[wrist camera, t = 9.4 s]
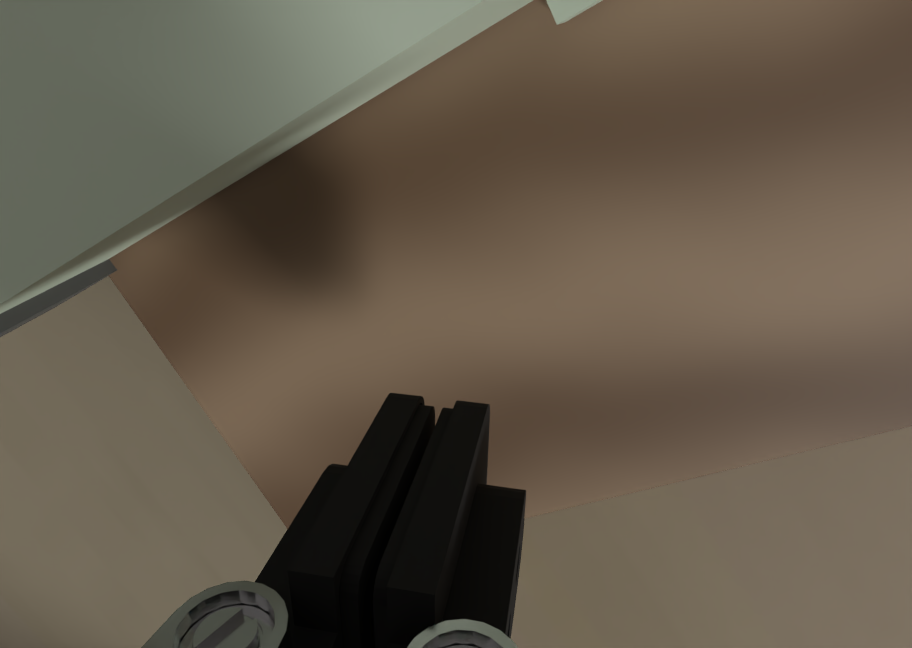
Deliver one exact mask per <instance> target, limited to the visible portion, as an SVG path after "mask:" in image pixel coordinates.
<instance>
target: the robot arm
mask: <svg viewBox="0 0 912 648" xmlns="http://www.w3.org/2000/svg"><path fill="white" fill-rule="evenodd" d="M489 426H490V405H489V404H485V403H476V402H467V401H459V400H457V401H456V402H455V405H454V407H453V409H452V408H442V410H441V413H440V415H439V418H438V420H437V423H436V425H435V408H434V406H427V405H425V402H424V398H423V396H416V395H407V394H398V393H389V395H388V396H387V397H386V399H385V401H384V403H383V404H382V406H381V408H380V410H379V411H378V413H377V415H376V417H375V418H374V420H373V422H372V424H371V425H370V427H369V429H368V431H367V432H366V434H365V436H364V438H363V439H362V441H361V443H360V444H359V446H358V448H357V450H356V451H355V453H354V455H353V457H352V458H351V460H350V462H349V464H348V465H340V464H331V465H328V467H327V468H326V469H325V470H324V472H323V473H322V475H321V476H320V478H319V480H318V481H317V483H316V484H315V486H314V488H313V489H312V491H311V493H310V494H309V496H308V497H307V499H306V501H305V502H304V504H303V505H302V507H301V509H300V510H299V512H298V513H297V515H296V517H295V518H294V520H293V521H292V523H291V525H290V526H289V528H288V530H287V531H286V533H285V534H284V536H283V538H282V539H281V541H280V542H279V544H278V546H277V547H276V549H275V550H274V552H273V554H272V555H271V557H270V558H269V560H268V562H267V563H266V565H265V567H264V568H263V570H262V571H261V573H260V575H259V576H258V578H257V579H256V581H255V582H250V581H237V582H227V583H223V584H220V585H217V586H214V587H211V588H208V589H206V590H204V591H202V592H200V593H199V594H197V595H195V596H193V597H191V598H190V599H189V600H188V601H186V602H185V603H184V604H183V605H182V606H181V607H179V608H178V609H177V610H176V611H175V612H174V613H173V614H172V615H171V616H170V617H169V618H168V619H167V621H166V622H165V623H164V624H163V625H162V626H161V627H160V628H159V629H158V630H157V631H156V632H155V633H154V635H153V636H152V637H151V638H150V639H149V640H148V641H147V642H146V643H145V644H144V645H143V646H142V647H141V648H518V647H517V646H516V644H515V643H514V642H513V641H512V640H511V639H510V638H511V631H512V623H513V616H514V608H515V600H516V593H517V585H518V577H519V569H520V560H521V550H522V540H523V529H524V517H525V504H526V490H522V489H514V488H507V487H500V486H493V485H487V468H488V447H489Z"/></svg>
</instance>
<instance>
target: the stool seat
mask: <svg viewBox="0 0 912 648" xmlns="http://www.w3.org/2000/svg"><path fill="white" fill-rule="evenodd" d="M109 260H110V261H111V262H112V264H113V265H114V266H115V268H116V269H117V271H115V272H114V273H112V274H110V275H109V277H110V278H111V280H112V281H113V283H114V284H115V285H116V287H117V288H118V290H119V291H120V292H121V294H122V295H123V297H124V298H125V300H126V301H127V302H128V304H129V305H130V307H131V308H132V309H133V311H134V312H135V314H136V315H137V316H138V318H139V319H140V321H141V322H142V324H143V325H144V326H145V328H146V329H147V331H148V332H149V333H150V335H151V336H152V338H153V339H154V341H155V342H156V343H157V345H158V346H159V348H160V349H161V350H162V352H163V353H164V355H165V356H166V358H167V359H168V360H169V362H170V363H171V365H172V366H173V367H174V369H175V370H176V372H177V373H178V375H179V376H180V377H181V379H182V380H183V382H184V383H185V384H186V386H187V387H188V389H189V390H190V391H191V393H192V394H193V396H194V397H195V399H196V400H197V401H198V403H199V404H200V406H201V407H202V408H203V410H204V411H205V413H206V414H207V416H208V417H209V418H210V420H211V421H212V423H213V424H214V425H215V427H216V428H217V430H218V431H219V433H220V434H221V435H222V437H223V438H224V440H225V441H226V442H227V444H228V445H229V447H230V448H231V450H232V451H233V452H234V454H235V455H236V457H237V458H238V459H239V461H240V462H241V464H242V465H243V466H244V468H245V469H246V471H247V472H248V474H249V475H250V476H251V478H252V479H253V481H254V482H255V483H256V485H257V486H258V488H259V489H260V491H261V492H262V493H263V495H264V496H265V498H266V499H267V500H268V502H269V503H270V505H271V506H272V508H273V509H274V510H275V512H276V513H277V515H278V516H279V517H280V519H281V520H282V522H283V523H284V525H285V526H286V527H287V529H288V528H289V526H290V525H291V523H292V521H293V520H294V518H295V517H296V515H297V513H298V512H299V510H300V509H301V507H302V505H303V504H304V502H305V501H306V499H307V497H308V496H309V494H310V493H311V491H312V489H313V488H314V486H315V484H316V483H317V481H318V480H319V478H320V476H321V475H322V473H323V472H324V470H325V469H326V468H327V467H328V465H331V464H340V465H348V464H349V462H350V460H351V458H352V457H353V455H354V453H355V451H356V450H357V448H358V446H359V444H360V443H361V441H362V439H363V438H364V436H365V434H366V432H367V431H368V429H369V427H370V425H371V424H372V422H373V420H374V418H375V417H376V415H377V413H378V411H379V410H380V408H381V406H382V404H383V403H384V401H385V399H386V397H387V396H388V395H389V393H398V394H407V395H416V396H423V398H424V402H425V405H427V406H434V408H435V425H436V423H437V420H438V418H439V415H440V413H441V410H442V408H452V409H453V407H454V405H455V402H456V401H457V400H459V401H467V402H476V403H485V404H489V405H490V426H489V447H488V468H487V485H493V486H500V487H507V488H514V489H522V490H526V504H525V517H524V519H525V518H529V517H533V516H537V515H542V514H546V513H550V512H554V511H558V510H562V509H567V508H571V507H575V506H579V505H583V504H588V503H592V502H596V501H600V500H604V499H608V498H613V497H617V496H621V495H625V494H629V493H634V492H638V491H642V490H646V489H650V488H654V487H659V486H663V485H667V484H671V483H675V482H680V481H684V480H688V479H692V478H696V477H700V476H705V475H709V474H713V473H717V472H721V471H726V470H730V469H734V468H738V467H742V466H746V465H751V464H755V463H759V462H763V461H767V460H772V459H776V458H780V457H784V456H788V455H792V454H797V453H801V452H805V451H809V450H813V449H818V448H822V447H826V446H830V445H834V444H838V443H843V442H847V441H851V440H855V439H859V438H864V437H868V436H872V435H876V434H880V433H884V432H889V431H893V430H897V429H901V428H905V427H910V426H912V0H603V1H601V2H599V3H597V4H596V5H594V6H592V7H591V8H589V9H587V10H585V11H584V12H582V13H580V14H579V15H577V16H575V17H573V18H572V19H570V20H568V21H567V22H565V23H561V24H556V22H555V19H554V17H553V15H552V13H551V10H550V8H549V6H548V4H547V1H546V0H533V1H531V2H530V3H528V4H526V5H525V6H523V7H522V8H520V9H518V10H517V11H515V12H513V13H512V14H510V15H508V16H507V17H505V18H503V19H502V20H500V21H499V22H497V23H495V24H494V25H492V26H490V27H489V28H487V29H485V30H484V31H482V32H481V33H479V34H477V35H476V36H474V37H472V38H471V39H469V40H467V41H466V42H464V43H462V44H461V45H459V46H458V47H456V48H454V49H453V50H451V51H449V52H448V53H446V54H444V55H443V56H441V57H439V58H438V59H436V60H435V61H433V62H431V63H430V64H428V65H426V66H425V67H423V68H421V69H420V70H418V71H416V72H415V73H413V74H412V75H410V76H408V77H407V78H405V79H403V80H402V81H400V82H398V83H397V84H395V85H394V86H392V87H390V88H389V89H387V90H385V91H384V92H382V93H380V94H379V95H377V96H375V97H374V98H372V99H371V100H369V101H367V102H366V103H364V104H362V105H361V106H359V107H357V108H356V109H354V110H352V111H351V112H349V113H348V114H346V115H344V116H343V117H341V118H339V119H338V120H336V121H334V122H333V123H331V124H329V125H328V126H326V127H325V128H323V129H321V130H320V131H318V132H316V133H315V134H313V135H311V136H310V137H308V138H307V139H305V140H303V141H302V142H300V143H298V144H297V145H295V146H293V147H292V148H290V149H288V150H287V151H285V152H284V153H282V154H280V155H279V156H277V157H275V158H274V159H272V160H270V161H269V162H267V163H265V164H264V165H262V166H261V167H259V168H257V169H256V170H254V171H252V172H251V173H249V174H247V175H246V176H244V177H242V178H241V179H239V180H238V181H236V182H234V183H233V184H231V185H229V186H228V187H226V188H224V189H223V190H221V191H220V192H218V193H216V194H215V195H213V196H211V197H210V198H208V199H206V200H205V201H203V202H201V203H200V204H198V205H197V206H195V207H193V208H192V209H190V210H188V211H187V212H185V213H183V214H182V215H180V216H178V217H177V218H175V219H174V220H172V221H170V222H169V223H167V224H165V225H164V226H162V227H160V228H159V229H157V230H155V231H154V232H152V233H151V234H149V235H147V236H146V237H144V238H142V239H141V240H139V241H137V242H136V243H134V244H133V245H131V246H129V247H128V248H126V249H124V250H123V251H121V252H119V253H118V254H116V255H114V256H113V257H111V258H110V259H109Z"/></svg>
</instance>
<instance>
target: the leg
mask: <svg viewBox="0 0 912 648" xmlns="http://www.w3.org/2000/svg"><path fill="white" fill-rule="evenodd" d="M531 1H533V0H0V337H2V336H3V335H5V334H7V333H9V332H11V331H12V330H14V329H16V328H18V327H20V326H22V325H23V324H25V323H27V322H29V321H31V320H33V319H34V318H36V317H38V316H40V315H42V314H44V313H45V312H47V311H49V310H51V309H53V308H55V307H56V306H58V305H60V304H61V303H63V302H65V301H67V300H68V299H70V298H72V297H73V296H75V295H77V294H78V293H80V292H82V291H83V290H85V289H87V288H88V287H90V286H92V285H93V284H95V283H97V282H98V281H100V280H102V279H103V278H105V277H107V276H109V275H110V274H112V273H114V272H115V271H117V269H116V268H115V266H114V265H113V264H112V262H111V261H110V260H109V259H110V258H111V257H113V256H114V255H116V254H118V253H119V252H121V251H123V250H124V249H126V248H128V247H129V246H131V245H133V244H134V243H136V242H137V241H139V240H141V239H142V238H144V237H146V236H147V235H149V234H151V233H152V232H154V231H155V230H157V229H159V228H160V227H162V226H164V225H165V224H167V223H169V222H170V221H172V220H174V219H175V218H177V217H178V216H180V215H182V214H183V213H185V212H187V211H188V210H190V209H192V208H193V207H195V206H197V205H198V204H200V203H201V202H203V201H205V200H206V199H208V198H210V197H211V196H213V195H215V194H216V193H218V192H220V191H221V190H223V189H224V188H226V187H228V186H229V185H231V184H233V183H234V182H236V181H238V180H239V179H241V178H242V177H244V176H246V175H247V174H249V173H251V172H252V171H254V170H256V169H257V168H259V167H261V166H262V165H264V164H265V163H267V162H269V161H270V160H272V159H274V158H275V157H277V156H279V155H280V154H282V153H284V152H285V151H287V150H288V149H290V148H292V147H293V146H295V145H297V144H298V143H300V142H302V141H303V140H305V139H307V138H308V137H310V136H311V135H313V134H315V133H316V132H318V131H320V130H321V129H323V128H325V127H326V126H328V125H329V124H331V123H333V122H334V121H336V120H338V119H339V118H341V117H343V116H344V115H346V114H348V113H349V112H351V111H352V110H354V109H356V108H357V107H359V106H361V105H362V104H364V103H366V102H367V101H369V100H371V99H372V98H374V97H375V96H377V95H379V94H380V93H382V92H384V91H385V90H387V89H389V88H390V87H392V86H394V85H395V84H397V83H398V82H400V81H402V80H403V79H405V78H407V77H408V76H410V75H412V74H413V73H415V72H416V71H418V70H420V69H421V68H423V67H425V66H426V65H428V64H430V63H431V62H433V61H435V60H436V59H438V58H439V57H441V56H443V55H444V54H446V53H448V52H449V51H451V50H453V49H454V48H456V47H458V46H459V45H461V44H462V43H464V42H466V41H467V40H469V39H471V38H472V37H474V36H476V35H477V34H479V33H481V32H482V31H484V30H485V29H487V28H489V27H490V26H492V25H494V24H495V23H497V22H499V21H500V20H502V19H503V18H505V17H507V16H508V15H510V14H512V13H513V12H515V11H517V10H518V9H520V8H522V7H523V6H525V5H526V4H528V3H530V2H531ZM546 1H547V4H548V6H549V8H550V10H551V13H552V15H553V17H554V19H555V22H556V24H561V23H565V22H567V21H568V20H570V19H572V18H573V17H575V16H577V15H579V14H580V13H582V12H584V11H585V10H587V9H589V8H591V7H592V6H594V5H596V4H597V3H599V2H601V1H603V0H546Z"/></svg>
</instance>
